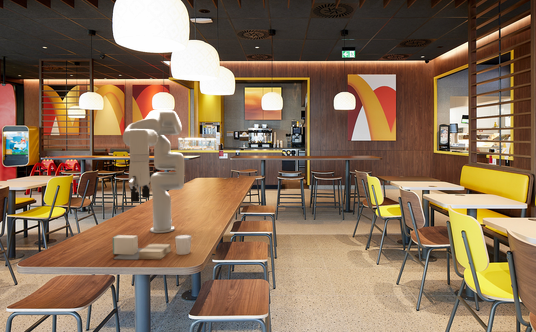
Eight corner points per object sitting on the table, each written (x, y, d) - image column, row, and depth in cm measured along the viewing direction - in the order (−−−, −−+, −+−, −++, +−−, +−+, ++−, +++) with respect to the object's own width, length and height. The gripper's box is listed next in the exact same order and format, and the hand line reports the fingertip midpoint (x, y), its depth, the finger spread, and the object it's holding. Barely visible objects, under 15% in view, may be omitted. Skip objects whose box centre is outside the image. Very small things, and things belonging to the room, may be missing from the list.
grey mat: (130, 248, 150) (130, 247, 150) (152, 249, 149) (152, 248, 149) (113, 259, 136) (113, 258, 136) (137, 259, 135) (137, 259, 135)
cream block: (138, 251, 145) (118, 251, 146) (137, 235, 144) (117, 235, 145) (133, 254, 141) (112, 253, 142) (133, 238, 140) (112, 237, 141)
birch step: (150, 250, 148) (150, 243, 148) (170, 250, 147) (170, 244, 147) (139, 258, 137) (138, 251, 137) (160, 259, 136) (160, 252, 136)
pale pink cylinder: (172, 252, 145) (171, 236, 144) (186, 249, 150) (186, 233, 149) (180, 256, 140) (180, 239, 140) (194, 252, 145) (194, 236, 144)
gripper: (140, 157, 149) (141, 196, 150) (120, 160, 132) (121, 203, 133) (157, 157, 148) (157, 196, 150) (138, 160, 131) (139, 203, 132)
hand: (140, 199), depth 141 cm, fingers open, 9 cm apart
